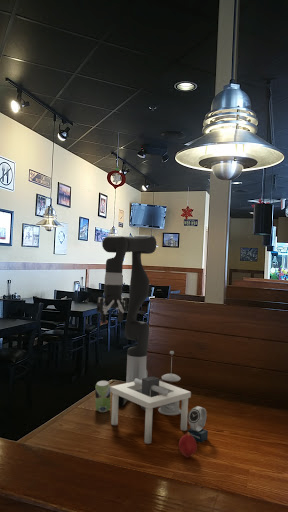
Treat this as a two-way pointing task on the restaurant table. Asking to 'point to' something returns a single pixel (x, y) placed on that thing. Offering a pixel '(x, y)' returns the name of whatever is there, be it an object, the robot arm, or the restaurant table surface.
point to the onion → (187, 445)
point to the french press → (174, 406)
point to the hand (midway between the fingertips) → (111, 322)
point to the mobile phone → (122, 401)
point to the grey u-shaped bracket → (146, 387)
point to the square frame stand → (150, 401)
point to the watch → (198, 418)
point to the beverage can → (102, 396)
